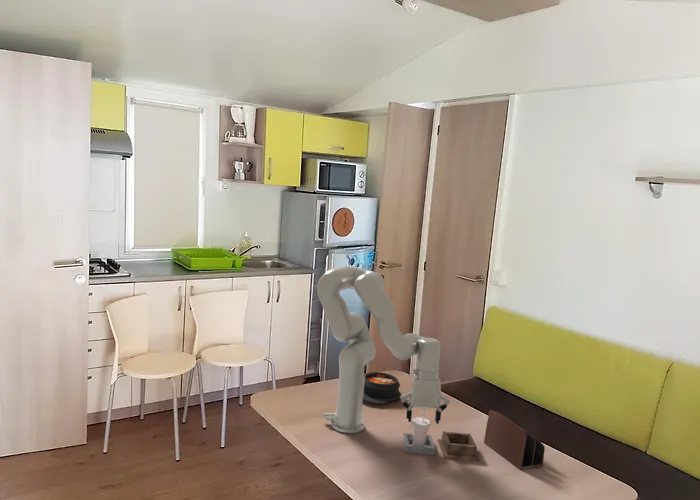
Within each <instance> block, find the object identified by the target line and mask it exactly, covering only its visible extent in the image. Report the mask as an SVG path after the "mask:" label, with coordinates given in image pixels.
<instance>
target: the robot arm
mask: <svg viewBox="0 0 700 500" xmlns="http://www.w3.org/2000/svg"><path fill="white" fill-rule="evenodd" d="M385 283H386V281H385V278H383V276H382V275H381V274H380V273H378V272H376V271H372V270H368V269H362V268H358V267H354V266H347V265H346V266H341V267H340V266H339V267H336V268H332V269H331V268H330V269H329V270H327V271H326V272H324V273H323V274H322V275H321V276H320V277H319V280H318V282H317V285H316V292H317V297H318V299H319V302H320V304H321V306H322V308H323V311H324V314H325V317H326V320H327V322H328V325H329V327H330V330H331V333H332V335H333V337H334V339H336V340H337V341H338V342H340V343H345V342H346V343H347V342H348V343H349V344H347V345H346V346H344V347H343V349H342V350H341V351H340V353H339V356H338V365H339V366H338V368H339V369H338V371H339V374H338V375H339V377H338V389H337V399H336V400H337V401H336V408H335V411H334V412H332V413H331V412H323V419H326V421H330V426H331V428H332V429H334V430H335V431H337V432H340V433H343V434H344V433H345V434H357V433H360V432H362V431H364V429H365V422H364V421H363V420H362V414H363V413H362V412H363V403H364V400H363V393H364V383H365V376H364V375H365V366H366V365H368V364H369V363H370V362H371V363H372V361H373V360H374V359H375V357H376V353H377V351H376V345H375V343H374V339H373V338H372V335H371V332H370V329H369V327H368V325H367V322H366V320H365V319H364V318H363V316H362V315H361V314H360V313H357V312H352V311H349V309H348V307H347V303H346V301H345V300H344V298H343V297H342V295H341V293H340V292H341V291H344V290H347V289H351V290H354V291H355V293H356V294H357V296H358V297H359V298H360V300H361V301H362V303H363V304H364V305H365V307H366V308H367V309H368V312H370V314H371V316H372V317H373V319H374V320H375V324H376V327H377V330H378V334H379V336H380V338H381V340H382V342H383V344H384V345H385V346H386V347H387V350H388V351H389V352H390V353H391V355H392V356H394V357H395V358H396V359H398V360H400V361H406V360H409V359H411V357H413V356H416V355H417V360H416V367H415V369H412V370H411V373H412V374H413V375H414V376H413V379H412V384H411V389H410V392H407V393H405V394H403V395H401V396H400V398H399V399H400V402H401V403H402V405H403V406H404V408H405V409H406V419H408V423H412V415H413V411H412V409H414V408H422V409H436V410H435V417H434V421H435V423H436V424H438V425H439V422H440V421H441V416H442V413H443V411H444V410H445V409H447V408H448V405H449V404H450V402H451V400H450V399H449V397H446V396H445V395H442V392H441V391H442V390H441V387H442V385H441V379H440V378H439V369H440V367H439V366H440V358H441V357H440V356H441V347H442V345H441V341H439V339H436V338H433V337H425V336H422V335H419V334H417V333H413V332H410V333H406V334H403V333H402V330H400V328H399V327H398V324H397V321H396V316H395V314H396V313H395V312H396V307H395V304H394V303H393V301H392V300H391V299H390V297H389V296H388V295H387V293H386V292H385V290H384V289H385V286H386V285H385ZM407 399H409V400H410V401H409V402H408V403H407V401H406V400H407ZM441 401H443V403H442V404H441Z"/></svg>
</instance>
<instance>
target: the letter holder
mask: <svg viewBox="0 0 700 500" xmlns="http://www.w3.org/2000/svg"><path fill="white" fill-rule="evenodd" d="M485 428H486V429H485V434H484V439H483V443H484V445H486V446H488V447H489V448H490V449H491V450H493V452H495V453H497V454H498V455H499V456H500V457H501V458H502V459H504V460H506V462H508V463H510V465H512V466H514V467H515V468H516V469H517V470H519V471H526V470H531V469H536V468H543V466H544V465H543V464H544V460H545V459H544V458H545V451H546V450H545V449H546V448H545V445H544V444H543V442H541V440H539V439H538V438H537V437H536V436H535V435H533V434H531V433H530V432H529V431H527V430H526V429H525V428H523V427H521V426H519V424H517V423H516V422H515V421H513V420H512V419H510V418H509V417H507V416H505V415H503V414H501V413H499V412H498V411H495V410H492V409H490V410H488V415H487V422H486V427H485ZM525 469H526V470H525Z"/></svg>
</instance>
